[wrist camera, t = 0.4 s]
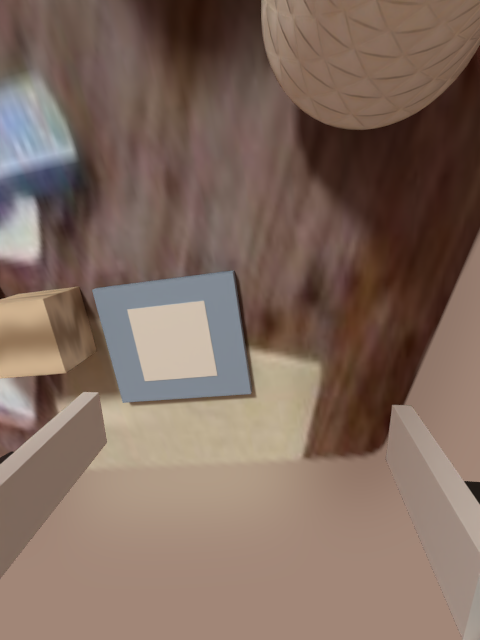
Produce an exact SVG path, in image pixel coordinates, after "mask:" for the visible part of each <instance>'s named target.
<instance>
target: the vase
mask: <svg viewBox="0 0 480 640" xmlns="http://www.w3.org/2000/svg"><path fill="white" fill-rule="evenodd" d="M261 23H262V33H263V40H264V45H265V50H266V54H267V57H268V60H269V63H270V66H271V69H272V71H273V73H274V75H275V77H276V79H277V81H278V83H279V84H280V86H281V87H282V89H283V90H284V92H285V93H286V94H287V96H288V97H289V98H290V99H291V100H292V102H293V103H295V104H296V105H297V106H298V107H299V108H300V109H301V110H302V111H303V112H305V113H306V114H308V115H309V116H311V117H312V118H314V119H316V120H318V121H320V122H322V123H324V124H327V125H330V126H333V127H336V128H342V129H348V130H367V129H376V128H380V127H384V126H388V125H391V124H394V123H397V122H399V121H402V120H404V119H406V118H408V117H410V116H412V115H414V114H416V113H417V112H419V111H420V110H422V109H423V108H425V107H426V106H428V105H429V104H430V103H432V102H433V101H434V100H435V99H436V98H437V97H439V96H440V95H441V94H442V93H443V92H444V91H445V90H446V89H447V88H448V87H449V86H450V85H451V84H452V83H453V82H454V81H455V80H456V79H457V78H458V76H459V75H460V74H461V72H462V71H463V70H464V69H465V67H466V66H467V65H468V63H469V61H470V60H471V58H472V57H473V55H474V54H475V52H476V50H477V48H478V47H479V45H480V0H261Z"/></svg>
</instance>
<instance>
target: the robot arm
mask: <svg viewBox="0 0 480 640" xmlns="http://www.w3.org/2000/svg"><path fill="white" fill-rule="evenodd" d="M106 443H107V439H106V433H105V427H104V421H103V415H102V409H101V403H100V397H99V392H83V393H82V394H80V395H79V396H78V397H77V398H76V399H75V400H74V401H72V402H71V403H70V404H69V405H68V406H67V407H66V408H64V409H63V410H62V411H61V412H60V413H59V414H57V415H56V416H55V417H54V418H53V419H52V420H51V421H49V422H48V423H47V424H46V425H45V426H44V427H43V428H41V429H40V430H39V431H38V432H37V433H36V434H35V435H33V436H32V437H31V438H30V439H29V440H28V441H27V442H25V443H24V444H23V445H22V446H21V447H20V448H19V449H17V450H16V451H15V452H10V453H8V454H6V455H4V456H2V457H1V458H0V578H1V577H2V576H3V575H4V573H5V572H6V571H7V569H8V568H9V567H10V566H11V564H12V563H13V562H14V561H15V559H16V558H17V557H18V555H19V554H20V553H21V552H22V550H23V549H24V548H25V546H26V545H27V544H28V542H29V541H30V540H31V539H32V538H33V536H34V535H35V534H36V532H37V531H38V530H39V529H40V527H41V526H42V525H43V523H44V522H45V521H46V520H47V518H48V517H49V516H50V515H51V513H52V512H53V511H54V509H55V508H56V507H57V506H58V504H59V503H60V502H61V500H62V499H63V498H64V497H65V495H66V494H67V493H68V491H69V490H70V489H71V488H72V486H73V485H74V484H75V483H76V481H77V480H78V479H79V478H80V476H81V475H82V474H83V472H84V471H85V470H86V469H87V467H88V466H89V465H90V464H91V462H92V461H93V460H94V458H95V457H96V456H97V455H98V453H99V452H100V451H101V449H102V448H103V447H104V446H105V444H106ZM386 461H387V464H388V466H389V469H390V471H391V473H392V476H393V478H394V480H395V483H396V485H397V487H398V490H399V492H400V494H401V497H402V499H403V501H404V504H405V506H406V508H407V511H408V513H409V516H410V518H411V520H412V522H413V525H414V527H415V529H416V531H417V534H418V537H419V539H420V541H421V544H422V546H423V548H424V550H425V553H426V555H427V558H428V560H429V562H430V565H431V567H432V569H433V572H434V574H435V576H436V579H437V581H438V583H439V586H440V588H441V590H442V593H443V595H444V597H445V600H446V602H447V604H448V607H449V609H450V611H451V614H452V616H453V619H454V621H455V623H456V626H457V628H458V630H459V632H460V635H461V637H462V639H463V640H480V482H468V481H463V480H462V478H461V477H460V475H459V474H458V472H457V471H456V469H455V468H454V466H453V465H452V464H451V462H450V461H449V459H448V458H447V456H446V455H445V453H444V452H443V450H442V449H441V448H440V446H439V445H438V443H437V442H436V440H435V439H434V437H433V436H432V434H431V433H430V432H429V430H428V429H427V427H426V426H425V425H424V423H423V421H422V420H421V418H420V417H419V416H418V414H417V413H416V411H415V410H414V408H413V407H412V406H410V405H392V412H391V420H390V428H389V436H388V444H387V452H386Z"/></svg>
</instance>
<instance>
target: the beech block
mask: <svg viewBox="0 0 480 640" xmlns="http://www.w3.org/2000/svg"><path fill="white" fill-rule="evenodd" d="M96 351H97V349H96V346H95V342H94V339H93V335H92V331H91V328H90V324H89V321H88V317H87V314H86V310H85V306H84V303H83V299H82V296H81V292H80V288H79V287H72V288H64V289H56V290H48V291H40V292H32V293H24V294H17V295H14V296H10V297H7V298H3V299H0V378H12V377H24V376H37V375H49V374H61V373H67V372H68V371H70V370H71V369H72V368H74V367H75V366H77V365H78V364H79V363H81V362H82V361H84V360H85V359H86V358H88V357H89V356H90V355H92V354H93V353H95V352H96Z"/></svg>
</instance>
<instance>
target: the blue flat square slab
mask: <svg viewBox="0 0 480 640" xmlns="http://www.w3.org/2000/svg"><path fill="white" fill-rule="evenodd" d="M92 291H93V295H94V299H95V302H96V306H97V310H98V313H99V317H100V321H101V324H102V328H103V332H104V335H105V339H106V343H107V346H108V350H109V354H110V357H111V361H112V365H113V368H114V372H115V376H116V379H117V383H118V386H119V390H120V394H121V397H122V401H123V403H124V402H139V401H154V400H168V399H183V398H198V397H212V396H227V395H242V394H251V392H252V386H251V380H250V373H249V366H248V360H247V353H246V346H245V340H244V333H243V326H242V320H241V313H240V306H239V299H238V293H237V286H236V279H235V273H234V271H226V272H218V273H211V274H203V275H195V276H187V277H179V278H172V279H164V280H156V281H148V282H141V283H133V284H125V285H117V286H109V287H102V288H96V289H93V290H92Z"/></svg>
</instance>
